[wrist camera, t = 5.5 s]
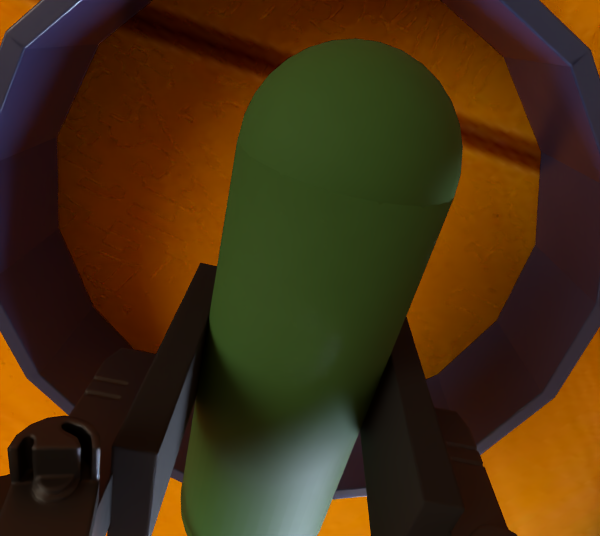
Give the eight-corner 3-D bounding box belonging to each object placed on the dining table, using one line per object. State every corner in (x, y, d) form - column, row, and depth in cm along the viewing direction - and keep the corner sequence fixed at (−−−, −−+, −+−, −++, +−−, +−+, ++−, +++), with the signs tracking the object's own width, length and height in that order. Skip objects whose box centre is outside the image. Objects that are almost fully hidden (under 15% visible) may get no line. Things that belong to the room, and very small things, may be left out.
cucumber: (270, 13, 10) (241, 7, 6) (461, 62, 11) (549, 86, 7) (192, 466, 18) (155, 599, 14) (309, 487, 18) (307, 622, 14)
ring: (34, -146, 15) (-87, -222, 10) (662, 25, 16) (792, 24, 12) (50, 376, 24) (-9, 453, 20) (441, 449, 26) (468, 535, 22)
